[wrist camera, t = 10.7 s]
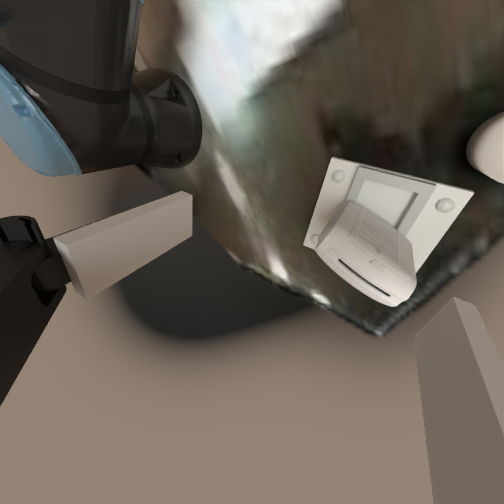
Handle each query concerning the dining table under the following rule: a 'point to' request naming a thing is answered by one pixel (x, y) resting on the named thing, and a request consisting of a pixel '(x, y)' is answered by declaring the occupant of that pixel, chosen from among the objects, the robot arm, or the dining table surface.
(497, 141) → the white rounded cylinder
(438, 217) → the dock plate
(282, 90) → the dining table surface
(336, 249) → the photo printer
